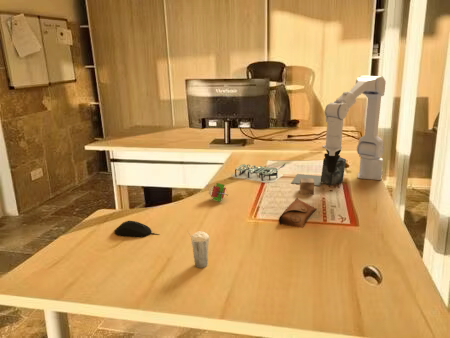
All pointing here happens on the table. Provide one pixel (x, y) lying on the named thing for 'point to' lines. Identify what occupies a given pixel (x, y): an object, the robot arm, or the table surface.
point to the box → (333, 177)
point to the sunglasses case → (296, 214)
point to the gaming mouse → (133, 229)
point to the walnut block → (306, 186)
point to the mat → (316, 178)
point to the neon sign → (257, 173)
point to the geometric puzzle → (217, 192)
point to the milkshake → (200, 248)
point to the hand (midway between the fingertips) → (331, 169)
